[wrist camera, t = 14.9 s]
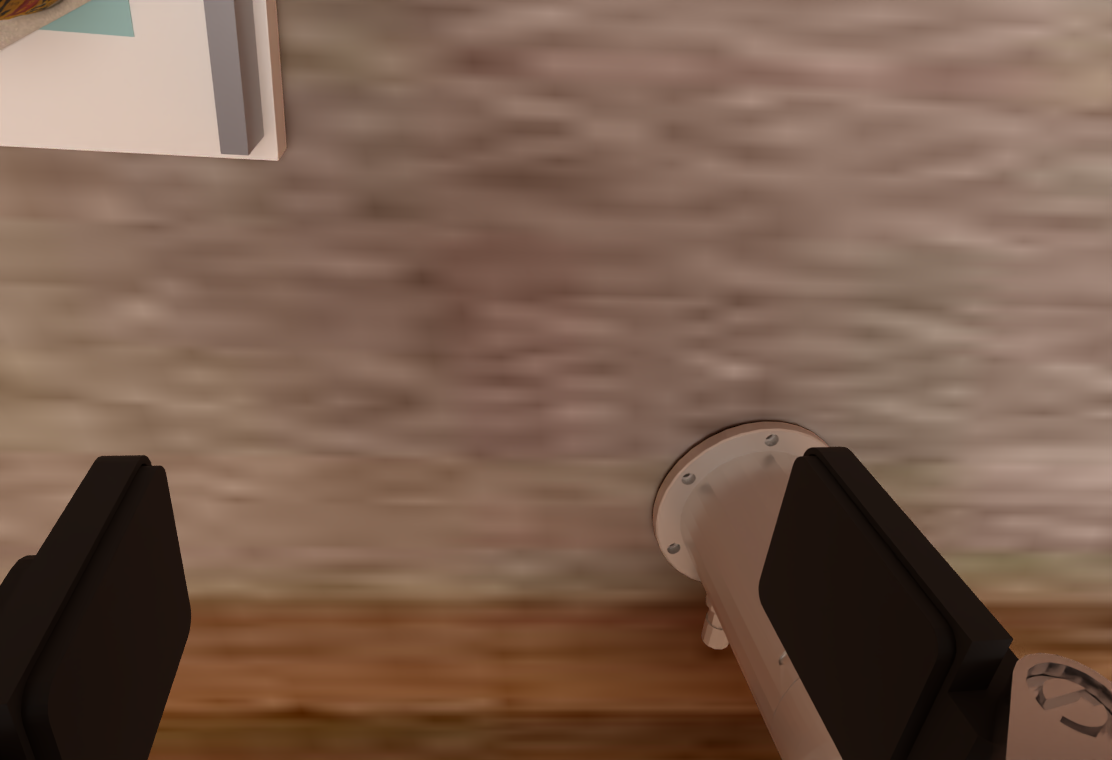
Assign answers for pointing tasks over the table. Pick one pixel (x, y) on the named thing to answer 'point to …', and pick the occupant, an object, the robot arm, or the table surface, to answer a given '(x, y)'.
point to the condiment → (30, 16)
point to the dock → (149, 80)
